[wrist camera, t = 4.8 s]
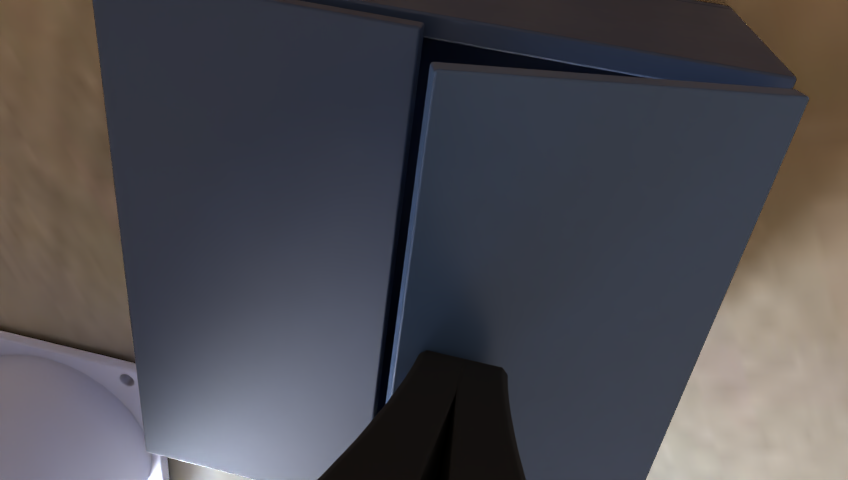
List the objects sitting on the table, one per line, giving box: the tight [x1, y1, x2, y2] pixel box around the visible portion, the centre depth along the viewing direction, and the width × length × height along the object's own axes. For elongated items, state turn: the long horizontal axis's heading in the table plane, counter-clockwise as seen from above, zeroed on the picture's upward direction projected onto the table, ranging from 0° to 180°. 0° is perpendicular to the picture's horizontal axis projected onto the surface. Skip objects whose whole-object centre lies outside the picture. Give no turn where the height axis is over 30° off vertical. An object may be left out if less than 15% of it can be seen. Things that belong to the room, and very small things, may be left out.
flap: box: [386, 62, 809, 480], centre depth 12 cm, size 5×11×1 cm, turn 173°
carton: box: [93, 0, 796, 480], centre depth 15 cm, size 11×11×6 cm
